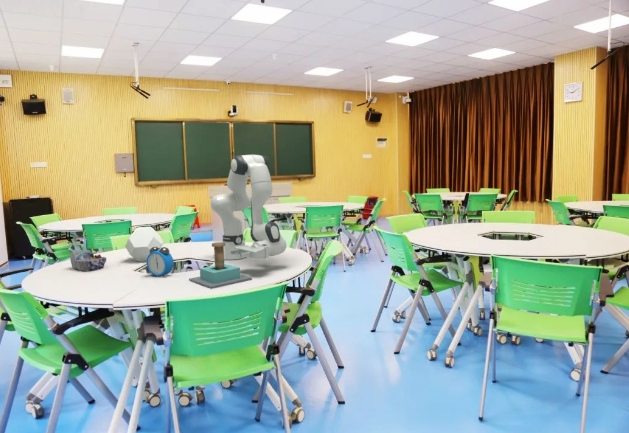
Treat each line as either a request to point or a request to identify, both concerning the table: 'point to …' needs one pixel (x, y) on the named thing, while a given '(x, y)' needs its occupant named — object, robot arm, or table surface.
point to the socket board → (211, 285)
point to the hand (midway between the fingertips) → (235, 254)
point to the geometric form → (143, 242)
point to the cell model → (86, 260)
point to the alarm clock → (159, 261)
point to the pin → (219, 255)
